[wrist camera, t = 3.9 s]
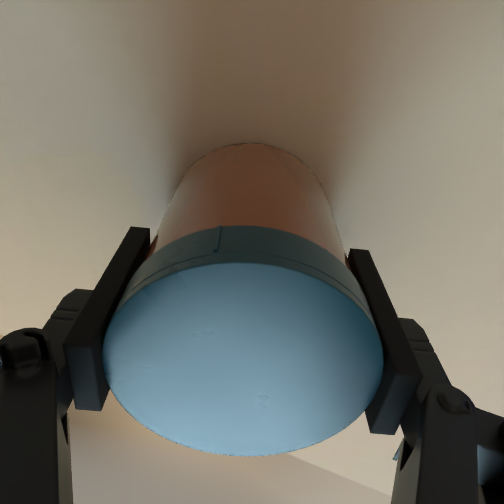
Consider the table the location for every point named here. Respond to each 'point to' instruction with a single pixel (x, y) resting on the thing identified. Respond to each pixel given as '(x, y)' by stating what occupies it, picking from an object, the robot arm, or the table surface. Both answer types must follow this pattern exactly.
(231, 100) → the table surface
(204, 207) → the jar
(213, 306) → the jar lid
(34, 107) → the table surface
